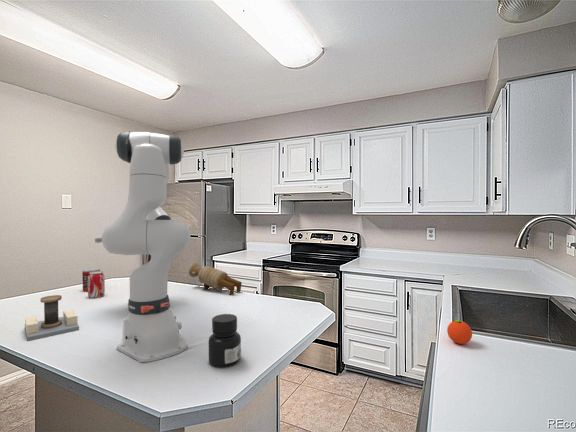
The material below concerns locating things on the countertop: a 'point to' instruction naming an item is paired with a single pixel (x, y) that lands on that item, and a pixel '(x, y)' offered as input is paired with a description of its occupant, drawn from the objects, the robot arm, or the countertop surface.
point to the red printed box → (85, 276)
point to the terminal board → (37, 332)
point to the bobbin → (51, 311)
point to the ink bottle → (224, 341)
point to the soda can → (96, 284)
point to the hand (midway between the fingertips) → (100, 241)
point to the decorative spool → (214, 278)
